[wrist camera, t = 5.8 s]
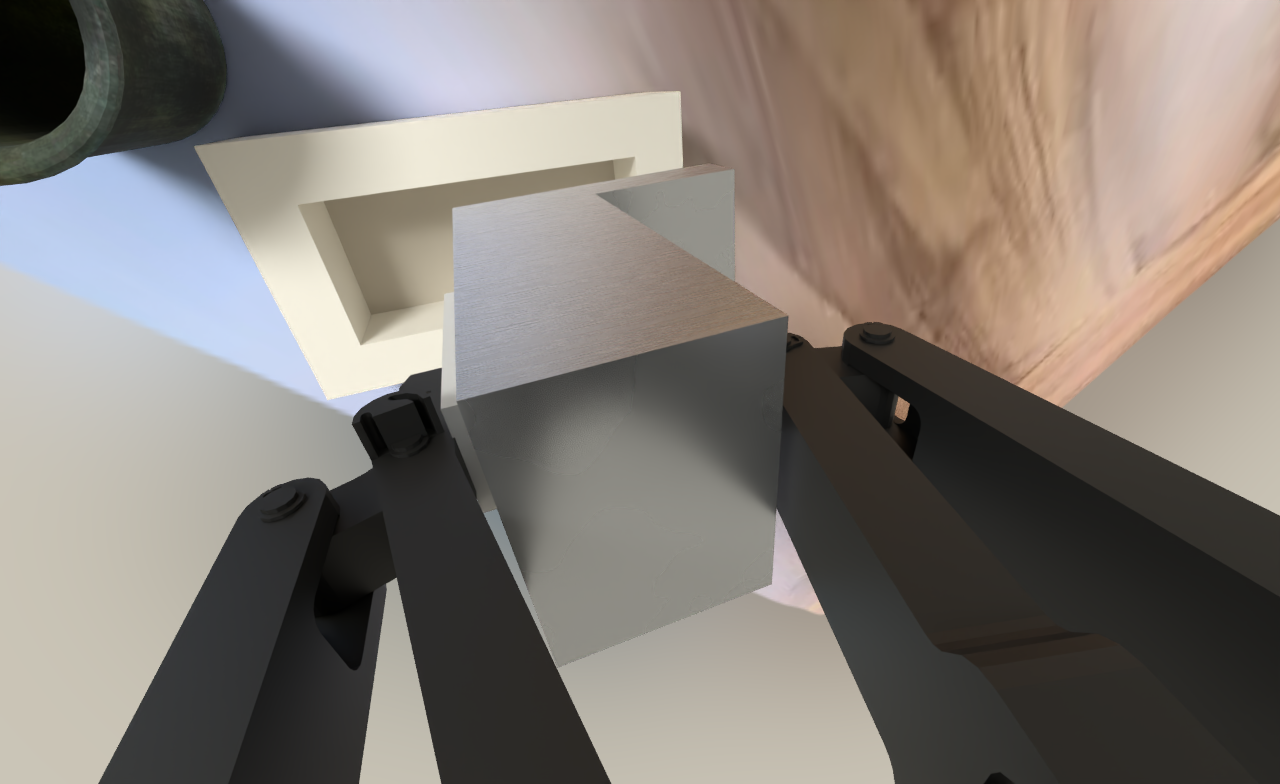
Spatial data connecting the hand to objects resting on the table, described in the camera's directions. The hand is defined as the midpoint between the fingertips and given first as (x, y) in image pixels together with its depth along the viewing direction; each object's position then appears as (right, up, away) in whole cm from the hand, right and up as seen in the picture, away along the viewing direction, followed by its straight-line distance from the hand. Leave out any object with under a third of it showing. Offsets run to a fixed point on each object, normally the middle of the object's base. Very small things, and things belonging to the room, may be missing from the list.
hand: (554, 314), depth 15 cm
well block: (-8, +9, +18) cm, 21 cm away
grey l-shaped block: (+1, +2, +4) cm, 4 cm away
